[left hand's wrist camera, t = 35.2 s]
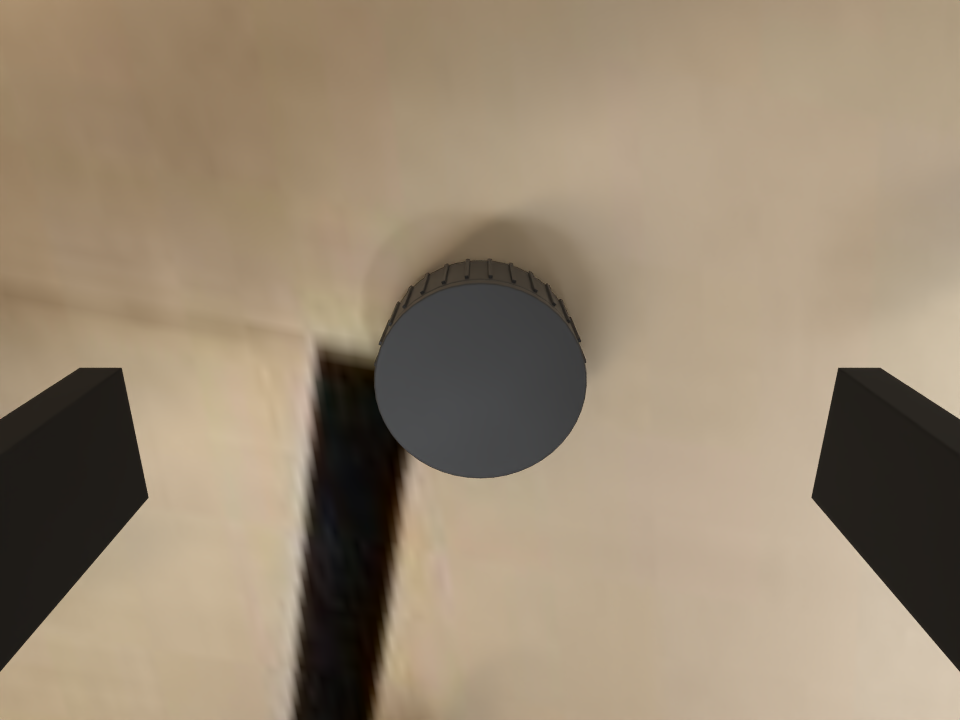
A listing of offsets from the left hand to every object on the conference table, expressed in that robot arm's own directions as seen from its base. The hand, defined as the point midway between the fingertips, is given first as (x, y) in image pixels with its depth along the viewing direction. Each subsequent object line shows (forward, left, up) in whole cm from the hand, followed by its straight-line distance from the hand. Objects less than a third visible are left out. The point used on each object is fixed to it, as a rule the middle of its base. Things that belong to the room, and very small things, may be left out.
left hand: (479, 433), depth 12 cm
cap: (0, 0, -2) cm, 2 cm away
